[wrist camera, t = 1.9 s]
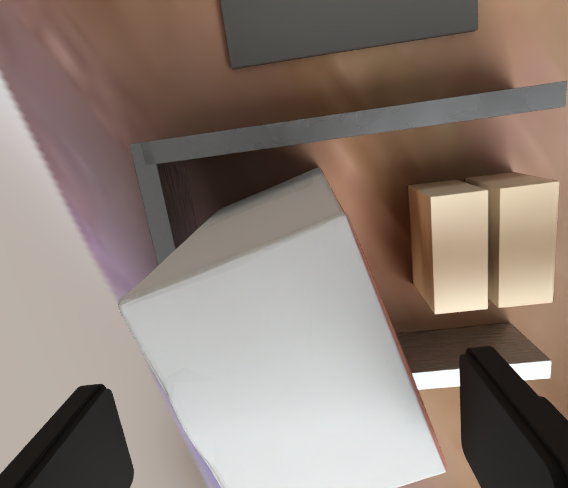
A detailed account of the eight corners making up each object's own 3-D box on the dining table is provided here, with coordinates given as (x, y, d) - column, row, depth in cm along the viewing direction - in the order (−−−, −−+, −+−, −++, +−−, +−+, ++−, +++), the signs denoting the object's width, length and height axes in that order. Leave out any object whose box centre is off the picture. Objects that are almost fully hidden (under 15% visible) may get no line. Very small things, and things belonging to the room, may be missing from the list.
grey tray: (160, 141, 21) (129, 144, 17) (515, 90, 20) (566, 80, 16) (209, 366, 25) (192, 409, 21) (509, 337, 24) (550, 378, 20)
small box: (372, 290, 23) (454, 480, 11) (273, 327, 24) (243, 539, 12) (321, 162, 21) (348, 207, 9) (216, 206, 22) (104, 307, 10)
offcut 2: (464, 177, 21) (500, 188, 17) (512, 171, 21) (559, 181, 17) (465, 277, 23) (498, 307, 19) (509, 272, 23) (552, 302, 19)
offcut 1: (407, 185, 21) (430, 197, 18) (454, 179, 21) (488, 190, 17) (412, 283, 23) (434, 314, 19) (456, 278, 23) (487, 309, 19)
